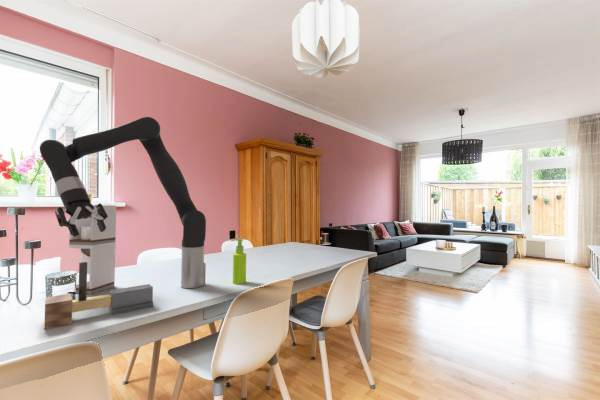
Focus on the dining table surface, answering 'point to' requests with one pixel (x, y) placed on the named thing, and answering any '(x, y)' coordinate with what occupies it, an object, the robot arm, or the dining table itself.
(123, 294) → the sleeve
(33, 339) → the dining table surface
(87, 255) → the grey tall box
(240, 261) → the soap dispenser
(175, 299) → the dining table surface
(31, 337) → the dining table surface
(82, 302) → the post on wooden plank
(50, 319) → the socket block
